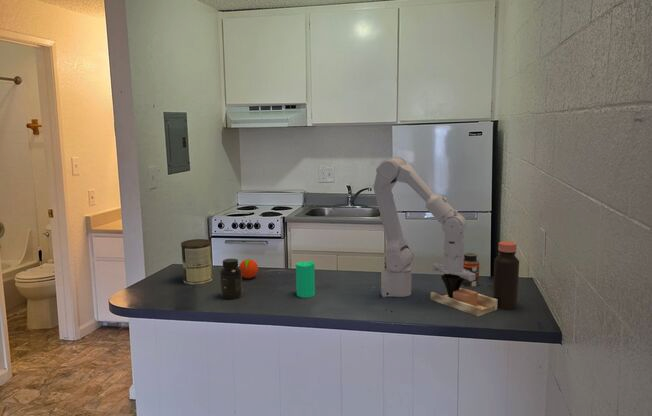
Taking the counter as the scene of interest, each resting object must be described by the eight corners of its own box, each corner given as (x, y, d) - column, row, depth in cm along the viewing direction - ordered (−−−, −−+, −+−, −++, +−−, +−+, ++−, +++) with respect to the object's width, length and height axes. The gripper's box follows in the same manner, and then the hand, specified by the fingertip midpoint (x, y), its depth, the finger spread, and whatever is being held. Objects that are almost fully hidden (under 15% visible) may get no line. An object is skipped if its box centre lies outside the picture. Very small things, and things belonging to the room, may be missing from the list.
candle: (318, 292, 163) (317, 257, 161) (309, 298, 157) (309, 262, 156) (301, 290, 165) (301, 255, 163) (293, 296, 160) (292, 260, 158)
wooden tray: (430, 303, 152) (430, 290, 151) (463, 292, 161) (463, 280, 160) (478, 320, 138) (478, 306, 137) (511, 307, 147) (511, 294, 146)
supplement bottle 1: (216, 297, 160) (214, 261, 158) (232, 291, 166) (231, 256, 164) (231, 301, 156) (229, 264, 154) (246, 295, 161) (245, 259, 160)
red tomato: (256, 281, 176) (255, 262, 174) (237, 281, 176) (236, 262, 175) (259, 275, 184) (259, 256, 182) (241, 275, 184) (240, 256, 182)
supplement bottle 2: (479, 290, 163) (480, 256, 161) (460, 289, 164) (461, 256, 163) (477, 284, 169) (478, 252, 167) (459, 283, 170) (460, 251, 168)
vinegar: (521, 310, 145) (525, 243, 142) (506, 315, 141) (510, 247, 138) (502, 303, 150) (505, 239, 147) (487, 308, 147) (490, 242, 144)
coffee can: (177, 281, 177) (174, 243, 175) (199, 274, 185) (197, 237, 183) (196, 286, 171) (193, 246, 169) (218, 279, 179) (216, 241, 177)
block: (452, 304, 147) (452, 291, 146) (463, 300, 150) (463, 288, 149) (466, 309, 143) (466, 296, 142) (477, 305, 146) (477, 292, 145)
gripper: (426, 252, 151) (425, 294, 153) (465, 261, 140) (463, 307, 142) (441, 248, 155) (440, 290, 158) (480, 257, 144) (479, 302, 146)
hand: (452, 298), depth 150 cm, fingers closed
